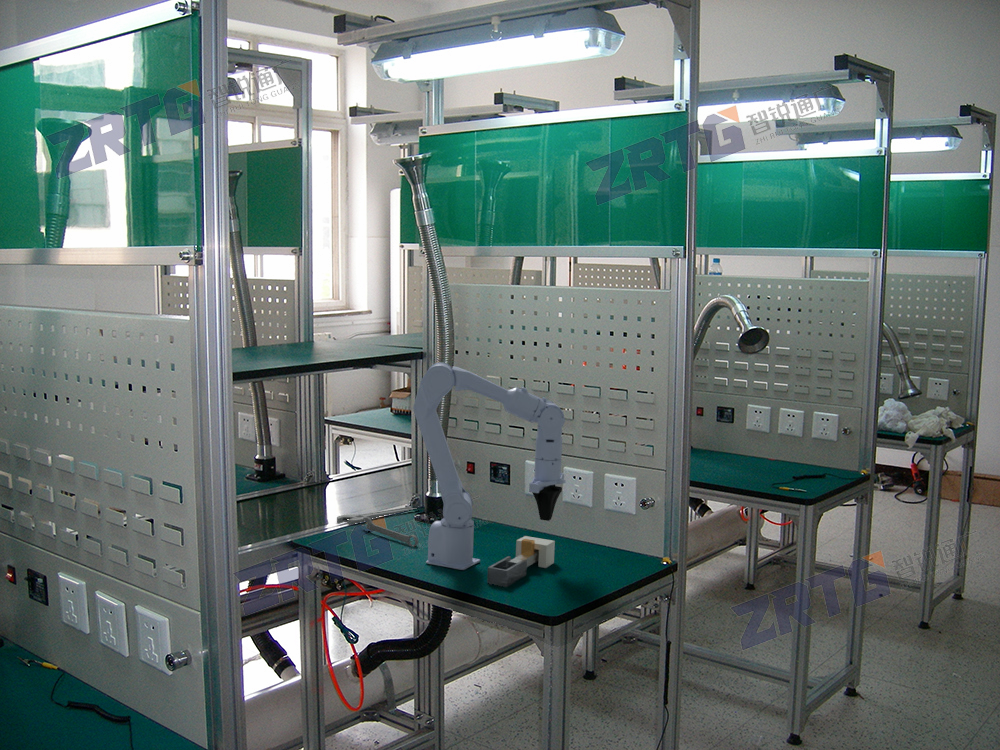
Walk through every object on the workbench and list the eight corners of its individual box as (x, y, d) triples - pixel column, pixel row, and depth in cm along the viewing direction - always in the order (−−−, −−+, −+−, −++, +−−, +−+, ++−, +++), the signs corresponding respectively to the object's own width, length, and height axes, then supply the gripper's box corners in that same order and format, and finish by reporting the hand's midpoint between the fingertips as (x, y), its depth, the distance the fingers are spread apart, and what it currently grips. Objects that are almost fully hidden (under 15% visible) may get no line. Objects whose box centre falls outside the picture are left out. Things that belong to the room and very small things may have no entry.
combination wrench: (419, 534, 213) (365, 515, 226) (414, 534, 212) (361, 515, 225) (418, 549, 213) (364, 529, 227) (414, 550, 212) (360, 530, 226)
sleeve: (487, 583, 188) (487, 567, 187) (507, 571, 196) (508, 556, 196) (506, 587, 186) (507, 571, 185) (526, 575, 194) (526, 559, 194)
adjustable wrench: (415, 511, 249) (415, 504, 249) (428, 516, 244) (428, 509, 244) (333, 522, 233) (333, 515, 233) (346, 527, 228) (346, 520, 228)
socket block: (515, 562, 203) (516, 540, 203) (524, 557, 207) (525, 535, 207) (545, 567, 200) (546, 545, 199) (553, 562, 204) (554, 540, 203)
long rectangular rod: (507, 570, 194) (508, 547, 193) (531, 557, 205) (532, 534, 204) (518, 572, 193) (519, 548, 192) (541, 558, 203) (542, 536, 203)
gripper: (552, 465, 191) (549, 529, 192) (577, 455, 204) (574, 515, 205) (521, 461, 194) (518, 524, 195) (548, 452, 207) (546, 511, 208)
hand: (545, 519), depth 200 cm, fingers closed
